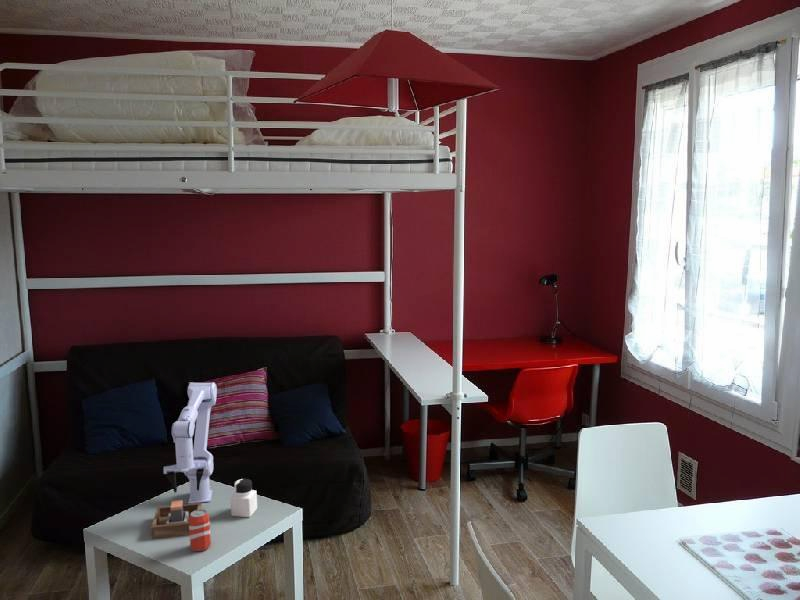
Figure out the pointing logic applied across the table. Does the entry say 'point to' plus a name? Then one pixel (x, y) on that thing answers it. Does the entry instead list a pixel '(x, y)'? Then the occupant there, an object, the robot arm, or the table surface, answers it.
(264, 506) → the table surface
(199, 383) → the robot arm
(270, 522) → the table surface
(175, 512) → the rectangular block
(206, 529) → the beverage can
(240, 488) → the medicine bottle
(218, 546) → the table surface
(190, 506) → the walled box
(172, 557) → the table surface
